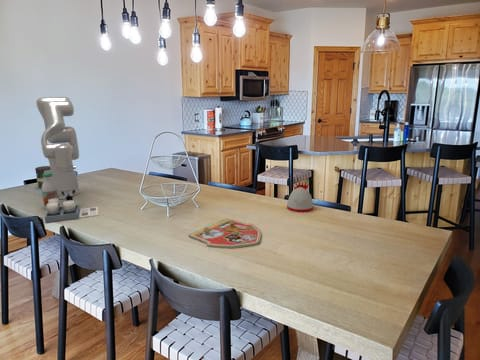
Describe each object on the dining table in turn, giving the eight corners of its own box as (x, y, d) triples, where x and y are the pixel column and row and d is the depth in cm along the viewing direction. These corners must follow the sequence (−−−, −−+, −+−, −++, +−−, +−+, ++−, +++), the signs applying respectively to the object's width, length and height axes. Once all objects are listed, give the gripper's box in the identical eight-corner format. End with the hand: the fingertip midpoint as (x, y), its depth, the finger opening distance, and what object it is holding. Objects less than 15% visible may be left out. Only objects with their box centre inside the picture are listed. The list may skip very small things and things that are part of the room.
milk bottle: (41, 209, 196) (35, 174, 191) (54, 205, 202) (49, 171, 198) (50, 211, 192) (45, 175, 187) (63, 207, 199) (58, 172, 194)
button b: (66, 211, 191) (65, 202, 189) (76, 209, 193) (75, 201, 191) (65, 213, 186) (64, 204, 185) (76, 212, 188) (74, 203, 187)
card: (80, 210, 194) (80, 208, 194) (97, 207, 197) (97, 206, 197) (79, 218, 181) (79, 216, 181) (98, 215, 185) (98, 214, 184)
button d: (64, 210, 183) (63, 200, 182) (75, 208, 185) (74, 199, 184) (64, 213, 179) (62, 203, 178) (74, 211, 181) (73, 202, 179)
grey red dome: (312, 213, 184) (314, 185, 180) (286, 211, 187) (286, 184, 183) (313, 204, 197) (314, 178, 193) (288, 203, 200) (288, 177, 196)
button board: (48, 213, 189) (47, 208, 188) (79, 209, 194) (78, 204, 194) (45, 223, 175) (44, 217, 175) (78, 218, 181) (77, 213, 180)
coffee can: (37, 190, 234) (34, 169, 230) (38, 187, 243) (35, 166, 239) (55, 188, 238) (52, 168, 234) (55, 185, 247) (52, 165, 244)
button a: (50, 207, 187) (48, 198, 186) (60, 206, 189) (59, 197, 188) (49, 210, 183) (47, 201, 182) (59, 209, 185) (58, 200, 183)
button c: (48, 212, 181) (47, 202, 179) (59, 210, 182) (58, 201, 181) (47, 215, 176) (46, 205, 175) (58, 213, 178) (57, 204, 177)
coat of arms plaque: (228, 220, 177) (228, 211, 176) (278, 234, 159) (278, 225, 158) (184, 239, 155) (184, 229, 154) (236, 258, 137) (236, 247, 136)
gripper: (81, 166, 190) (85, 199, 194) (49, 169, 184) (54, 202, 189) (80, 169, 183) (85, 203, 187) (48, 172, 178) (53, 206, 182)
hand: (70, 202), depth 188 cm, fingers closed
